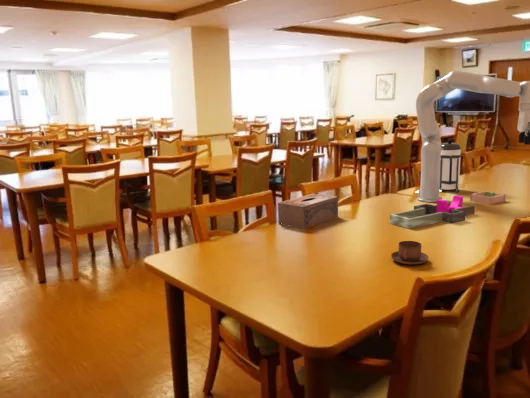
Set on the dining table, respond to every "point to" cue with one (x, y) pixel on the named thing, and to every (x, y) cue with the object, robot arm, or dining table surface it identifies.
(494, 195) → the seedling
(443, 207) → the toy block
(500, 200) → the planter frame
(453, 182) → the lantern
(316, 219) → the tissue box cover
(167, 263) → the dining table surface
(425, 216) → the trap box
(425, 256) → the cup and saucer
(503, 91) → the robot arm
